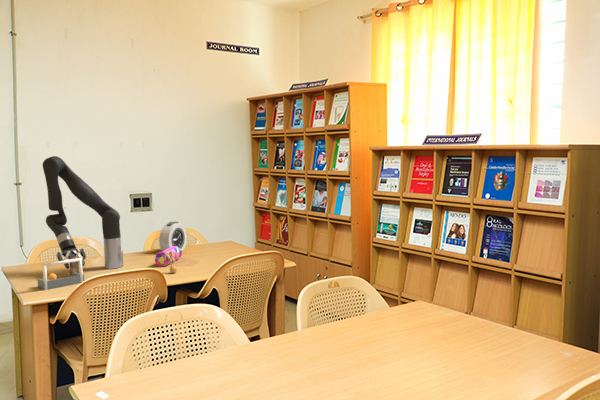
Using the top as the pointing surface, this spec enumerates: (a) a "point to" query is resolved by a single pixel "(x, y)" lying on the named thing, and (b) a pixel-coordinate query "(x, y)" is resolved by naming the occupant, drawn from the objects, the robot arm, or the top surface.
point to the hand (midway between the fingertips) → (76, 266)
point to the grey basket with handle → (62, 281)
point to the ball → (52, 276)
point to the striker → (74, 266)
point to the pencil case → (161, 256)
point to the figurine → (172, 268)
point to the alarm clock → (173, 236)
